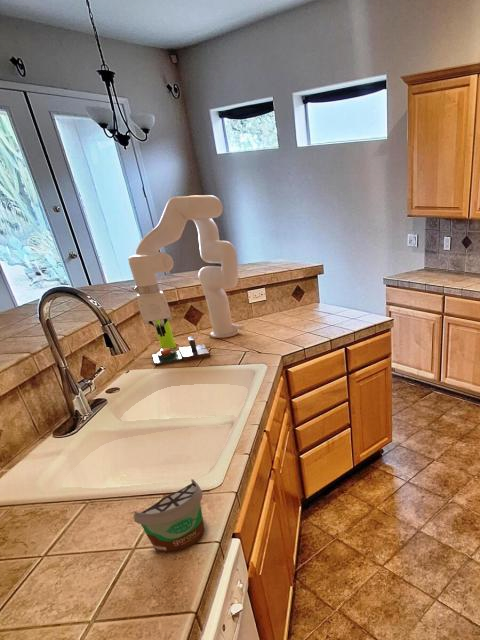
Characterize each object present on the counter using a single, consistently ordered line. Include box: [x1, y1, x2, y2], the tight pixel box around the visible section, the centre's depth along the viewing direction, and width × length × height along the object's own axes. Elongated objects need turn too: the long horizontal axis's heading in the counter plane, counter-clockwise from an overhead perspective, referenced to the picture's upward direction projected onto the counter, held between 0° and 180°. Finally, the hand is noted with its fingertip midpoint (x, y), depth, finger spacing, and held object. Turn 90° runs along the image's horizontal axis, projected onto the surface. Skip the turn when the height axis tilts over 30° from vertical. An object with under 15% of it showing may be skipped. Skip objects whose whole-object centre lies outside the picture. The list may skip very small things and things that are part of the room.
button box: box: [152, 349, 184, 367], centre depth 176 cm, size 10×12×3 cm
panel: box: [178, 344, 211, 362], centre depth 181 cm, size 10×14×2 cm
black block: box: [187, 336, 197, 352], centre depth 180 cm, size 5×2×5 cm, turn 31°
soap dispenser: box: [154, 320, 177, 350], centre depth 187 cm, size 6×7×20 cm
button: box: [159, 348, 171, 354], centre depth 176 cm, size 4×4×2 cm
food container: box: [133, 478, 205, 554], centre depth 80 cm, size 12×6×10 cm, turn 148°
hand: (162, 335), depth 173 cm, fingers closed
